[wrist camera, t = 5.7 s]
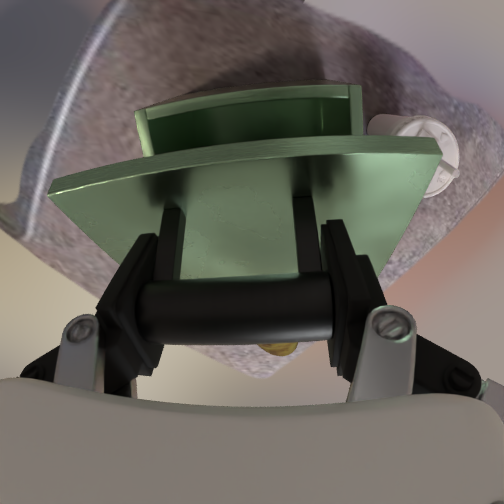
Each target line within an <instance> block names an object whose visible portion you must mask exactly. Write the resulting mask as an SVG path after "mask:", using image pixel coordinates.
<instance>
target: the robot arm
mask: <svg viewBox="0 0 504 504" xmlns="http://www.w3.org/2000/svg"><path fill="white" fill-rule="evenodd" d="M158 238H159V236H157V235H156V233H145V234H140V235H139V236H138V238H137V239H136V241H135V243H134V244H133V246H132V247H131V249H130V250H129V252H128V254H127V255H126V257H125V258H124V260H123V262H122V263H121V265H120V267H119V268H118V270H117V272H116V273H115V275H114V277H113V278H112V280H111V282H110V283H109V285H108V287H107V288H106V290H105V292H104V294H103V295H102V297H101V299H100V301H99V303H98V305H97V306H96V309H97V312H96V314H95V316H94V315H91V314H83V315H80V316H77V317H76V318H74V319H72V320H71V321H70V322H69V323H68V324H67V325H66V327H65V328H64V331H63V333H62V338H61V343H60V345H59V346H57V347H56V348H54V349H53V350H51V351H49V352H48V353H46V354H44V355H43V356H41V357H39V358H38V359H36V360H35V361H33V362H32V363H30V364H29V365H27V366H26V367H25V368H24V370H23V371H22V373H21V375H20V378H19V377H16V378H6V379H1V380H0V504H504V386H503V385H501V384H498V383H496V382H494V381H492V380H490V379H487V380H486V381H484V380H482V379H481V377H480V375H479V372H478V370H477V369H476V368H475V367H474V366H473V365H472V364H470V363H469V362H468V361H466V360H464V359H462V358H460V357H458V356H457V355H454V354H452V353H451V352H449V351H447V350H446V349H444V348H442V347H440V346H438V345H436V344H434V343H432V342H431V341H429V340H427V339H425V338H423V337H422V336H420V335H418V334H416V332H417V327H416V321H415V320H414V318H413V316H412V315H411V314H410V313H409V312H408V311H406V310H405V309H403V308H401V307H397V306H393V305H387V303H386V300H385V297H384V294H383V292H382V289H381V286H380V284H379V281H378V278H377V276H376V273H375V271H374V268H373V266H372V263H371V261H370V258H369V256H368V255H367V254H363V255H356V253H355V250H354V248H353V245H352V242H351V240H350V237H349V234H348V232H347V229H346V227H345V224H344V221H343V219H332V220H326V224H321V241H320V252H321V261H322V269H323V271H328V272H329V274H330V277H331V280H332V285H333V292H334V302H335V329H334V335H333V337H332V339H330V340H327V343H328V350H329V358H330V365H331V367H337V375H338V376H342V375H343V378H344V379H346V380H347V381H349V382H350V383H351V384H350V388H349V392H348V396H347V399H346V402H345V403H333V404H321V405H308V406H307V405H306V406H285V407H228V406H206V405H190V404H179V403H167V402H159V401H150V400H142V399H137V384H136V377H138V375H143V376H151V375H152V372H153V369H154V368H156V367H157V366H158V364H159V361H160V357H161V354H162V351H163V348H164V344H150V343H147V342H146V341H145V340H144V339H143V338H142V336H141V335H140V333H139V330H138V327H137V322H136V313H135V308H136V299H137V295H138V292H139V289H140V287H141V286H142V285H143V284H144V283H145V282H147V281H152V280H153V273H154V266H155V258H156V251H157V244H158Z"/></svg>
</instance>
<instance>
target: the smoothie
mask: <svg viewBox="0 0 504 504" xmlns="http://www.w3.org/2000/svg"><path fill="white" fill-rule="evenodd" d="M367 135H388V136H416V137H433V138H435V140H436V141H437V143H438V145H439V147H440V149H441V151H442V153H443V156H442V158H441V161H440V163H439V165H438V167H437V169H436V172H435V174H434V176H433V178H432V180H431V182H430V184H429V186H428V188H427V190H426V192H425V194H424V196H423V198H427V197H431V196H434V195H436V194H438V193H440V192H442V191H443V190H444V189H445V188H446V187H447V186H448V185H449V184H450V183H451V181H452V180H453V178H457V177H458V176H459V170H457V168H458V164H459V148H458V144H457V141H456V138H455V136H454V135H453V133H452V132H451V130H450V129H449V128H448V127H447V126H446V125H445V124H443V123H442V122H440V121H438V120H436V119H435V118H432V117H429V116H413V117H406V116H398V115H390V114H379V115H376V116H375V117H373V118H372V119H371V120H370V122H369V124H368V127H367Z"/></svg>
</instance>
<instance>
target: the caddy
mask: <svg viewBox="0 0 504 504" xmlns="http://www.w3.org/2000/svg"><path fill="white" fill-rule="evenodd" d="M134 115H135V120H136V124H137V129H138V133H139V138H140V142H141V147H142V151H143V155H144V157H148V156H153V155H158V154H164V153H169V152H175V151H181V150H187V149H194V148H200V147H207V146H215V145H222V144H230V143H239V142H248V141H258V140H269V139H281V138H296V137H314V136H343V135H363V109H362V88H361V85H357V84H352V83H346V82H340V81H333V80H327V79H319V80H294V81H279V82H266V83H256V84H247V85H239V86H231V87H224V88H218V89H211V90H205V91H199V92H194V93H189V94H184V95H180V96H177V97H174V98H171V99H168V100H165V101H162V102H159V103H156V104H153V105H150V106H147V107H144V108H142V109H139V110H136V111H134Z"/></svg>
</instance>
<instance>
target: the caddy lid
mask: <svg viewBox="0 0 504 504" xmlns="http://www.w3.org/2000/svg"><path fill="white" fill-rule="evenodd" d="M442 156H443V153H442V151H441V149H440V147H439V145H438V143H437V141H436V140H435V138H433V137H416V136H388V135H343V136H314V137H296V138H281V139H269V140H258V141H248V142H239V143H230V144H222V145H215V146H207V147H200V148H194V149H187V150H181V151H175V152H169V153H164V154H158V155H153V156H148V157H143V158H138V159H133V160H128V161H124V162H119V163H115V164H110V165H106V166H102V167H98V168H94V169H90V170H86V171H82V172H78V173H75V174H71V175H67V176H64V177H60V178H57V179H54V180H53V182H52V184H51V187H50V189H49V191H48V194H47V196H48V197H49V198H50V199H51V200H52V201H53V202H54V204H55V205H56V206H57V207H58V208H59V209H60V210H61V211H62V212H63V213H64V214H65V215H66V216H67V217H68V218H70V219H71V220H72V221H73V222H74V223H75V224H76V225H77V226H78V227H79V228H80V229H81V230H82V231H83V232H84V233H85V234H86V235H87V236H88V237H89V238H90V239H91V240H93V241H94V242H95V243H96V244H97V245H98V246H99V247H100V248H101V249H102V250H103V251H105V252H106V253H107V254H108V255H109V256H110V257H111V258H112V259H113V260H115V261H116V262H117V263H118V264H119V265H121V263H122V262H123V260H124V258H125V257H126V255H127V254H128V252H129V250H130V249H131V247H132V246H133V244H134V243H135V241H136V239H137V238H138V236H139V235H140V234H145V233H156V235H157V236H159V238H158V244H157V251H156V258H155V266H154V273H153V280H152V281H147V282H145V283H144V284H143V285H142V286H141V287H140V289H139V292H138V295H137V299H136V308H135V313H136V322H137V327H138V330H139V333H140V335H141V336H142V338H143V339H144V340H145V341H146V342H147V343H150V344H168V345H252V344H277V343H295V342H309V341H322V340H330V339H332V337H333V335H334V329H335V302H334V292H333V285H332V280H331V277H330V274H329V272H328V271H323V269H322V261H321V252H320V241H321V224H326V220H332V219H343V221H344V224H345V227H346V229H347V232H348V234H349V237H350V240H351V242H352V245H353V248H354V250H355V253H356V255H363V254H367V255H368V256H369V258H370V261H371V263H372V266H373V268H374V271H375V273H376V276H377V278H378V276H379V275H380V273H381V271H382V270H383V268H384V266H385V265H386V263H387V261H388V260H389V258H390V256H391V255H392V253H393V251H394V250H395V248H396V246H397V244H398V243H399V241H400V239H401V237H402V236H403V234H404V232H405V230H406V228H407V227H408V225H409V223H410V221H411V219H412V217H413V216H414V214H415V212H416V210H417V208H418V206H419V204H420V202H421V200H422V198H423V196H424V194H425V192H426V190H427V188H428V186H429V184H430V182H431V180H432V178H433V176H434V174H435V172H436V169H437V167H438V165H439V163H440V161H441V158H442Z"/></svg>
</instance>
